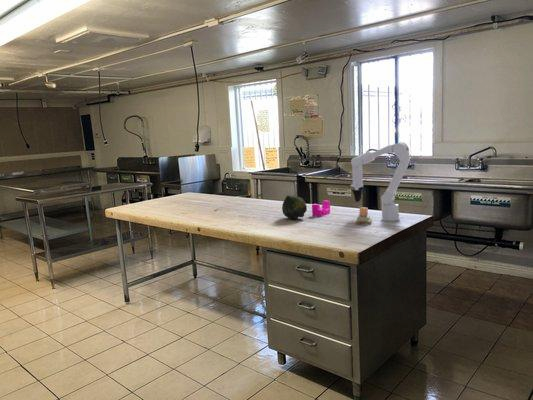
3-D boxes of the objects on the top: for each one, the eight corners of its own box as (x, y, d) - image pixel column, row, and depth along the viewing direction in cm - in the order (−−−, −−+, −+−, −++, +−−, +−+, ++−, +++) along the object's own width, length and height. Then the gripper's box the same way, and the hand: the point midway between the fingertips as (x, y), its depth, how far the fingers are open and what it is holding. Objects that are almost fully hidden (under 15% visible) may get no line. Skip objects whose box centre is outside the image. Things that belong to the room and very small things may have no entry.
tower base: (371, 222, 237) (371, 218, 236) (370, 225, 229) (370, 221, 229) (357, 222, 239) (357, 218, 239) (355, 225, 232) (355, 221, 231)
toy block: (321, 217, 256) (320, 205, 255) (312, 216, 260) (311, 204, 259) (333, 212, 268) (333, 200, 267) (325, 211, 272) (324, 200, 270)
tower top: (369, 218, 236) (369, 215, 235) (368, 221, 230) (368, 217, 230) (358, 218, 238) (358, 214, 237) (357, 221, 232) (357, 217, 232)
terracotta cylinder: (369, 215, 234) (369, 207, 233) (365, 216, 231) (365, 208, 230) (361, 214, 237) (362, 206, 236) (357, 215, 234) (358, 208, 233)
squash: (296, 222, 246) (295, 197, 243) (277, 219, 256) (276, 195, 253) (311, 217, 256) (310, 193, 253) (293, 215, 266) (291, 192, 263)
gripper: (352, 176, 252) (352, 198, 254) (349, 179, 238) (349, 202, 240) (364, 175, 249) (364, 198, 252) (361, 178, 236) (362, 202, 238)
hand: (358, 200), depth 246 cm, fingers open, 7 cm apart
